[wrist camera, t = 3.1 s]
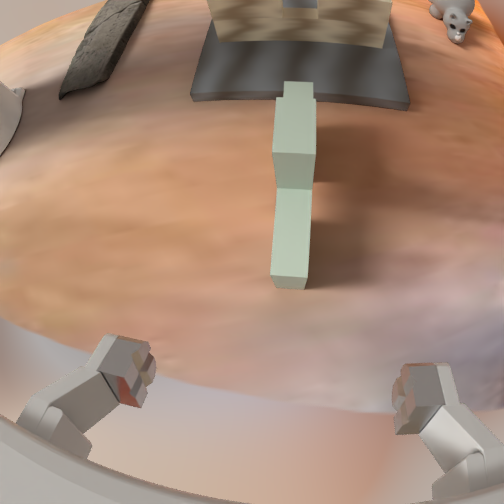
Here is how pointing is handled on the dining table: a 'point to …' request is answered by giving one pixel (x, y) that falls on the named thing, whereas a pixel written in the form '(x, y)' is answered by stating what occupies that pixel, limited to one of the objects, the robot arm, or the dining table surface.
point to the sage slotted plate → (293, 183)
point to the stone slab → (103, 44)
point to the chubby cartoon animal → (453, 16)
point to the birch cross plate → (301, 52)
